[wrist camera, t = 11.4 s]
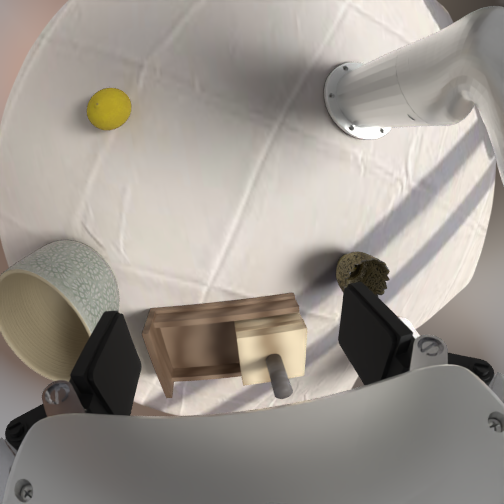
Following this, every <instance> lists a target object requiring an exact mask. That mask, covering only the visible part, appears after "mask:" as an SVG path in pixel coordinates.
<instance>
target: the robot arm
mask: <svg viewBox="0 0 504 504" xmlns="http://www.w3.org/2000/svg"><path fill="white" fill-rule="evenodd" d="M329 95H330V96H331V98H330V97H329ZM324 98H325V103H326V107H327V109H328V112H329V114H330V115H331V117H332V119H333V120H334V122H335V123H336V124H337V125H338V126H339V127H340V128H341V129H342V130H343V131H344V132H346V133H347V134H349V135H351V136H353V137H356V138H358V139H364V140H371V139H377V138H380V137H382V136H384V135H385V134H387V133H388V132H389V131H390V129H391V128H395V127H415V126H449V125H454V124H457V123H459V122H460V121H462V120H463V119H465V118H466V117H467V116H468V114H469V113H470V112H471V110H472V109H473V107H474V105H476V106H477V108H478V110H479V112H480V115H481V117H482V120H483V122H484V124H485V126H486V129H487V131H488V134H489V137H490V140H491V144H492V147H493V150H494V154H495V157H496V161H497V165H498V168H499V173H500V176H501V179H502V182H503V185H504V7H499V6H491V7H485V8H482V9H479V10H476V11H475V12H472V13H470V14H468V15H466V16H465V17H463V18H462V19H460V20H458V21H456V22H455V23H453V24H451V25H450V26H448V27H446V28H444V29H442V30H440V31H438V32H436V33H434V34H432V35H430V36H427V37H425V38H423V39H420V40H418V41H416V42H413V43H411V44H408V45H406V46H404V47H401V48H399V49H397V50H394V51H392V52H390V53H388V54H385V55H383V56H381V57H379V58H377V59H375V60H373V61H370V62H368V63H366V64H364V63H360V62H348V63H344V64H342V65H340V66H338V67H336V68H335V69H334V70H333V71H332V72H331V73H330V75H329V76H328V78H327V80H326V83H325V88H324ZM349 128H350V130H349ZM412 335H413V332H412V331H411V330H410V329H409V328H408V327H407V326H406V325H405V324H404V323H403V322H402V321H401V320H400V319H399V318H398V317H397V316H396V315H395V314H394V313H393V312H392V311H391V310H390V309H389V308H388V307H387V306H386V305H385V304H384V303H383V302H382V301H381V300H380V299H379V298H378V297H377V296H376V295H375V294H374V293H373V292H372V291H371V290H370V289H369V288H368V287H367V286H365V285H364V284H363V283H362V282H356V283H350V284H348V286H347V287H346V288H345V289H344V293H343V303H342V313H341V321H340V329H339V337H338V340H339V344H340V346H341V348H342V349H343V351H344V352H345V354H346V356H347V357H348V359H349V361H350V362H351V364H352V365H353V367H354V369H355V370H356V372H357V374H358V375H359V377H360V378H361V380H362V382H363V383H364V385H365V386H362V387H358V388H354V389H351V390H347V391H344V392H340V393H336V394H332V395H328V396H324V397H320V398H316V399H311V400H307V401H302V402H297V403H292V404H287V405H281V406H275V407H269V408H263V409H256V410H249V411H241V412H232V413H221V414H209V415H193V416H130V414H131V409H132V404H133V400H134V396H135V392H136V388H137V384H138V380H139V376H140V372H141V362H140V359H139V357H138V354H137V352H136V349H135V347H134V344H133V341H132V339H131V336H130V333H129V330H128V327H127V324H126V322H125V319H124V316H123V314H120V313H119V312H118V311H117V310H116V311H105V312H104V313H103V315H102V316H101V318H100V320H99V321H98V323H97V325H96V327H95V328H94V330H93V332H92V334H91V336H90V337H89V339H88V341H87V343H86V345H85V347H84V348H83V350H82V352H81V354H80V356H79V358H78V360H77V362H76V364H75V366H74V368H73V370H72V372H71V374H70V376H71V378H70V380H69V382H68V381H65V380H57V381H54V382H52V383H50V384H49V385H48V386H47V387H46V388H45V389H44V391H43V393H42V401H43V404H42V405H40V406H38V407H36V408H35V409H32V410H30V411H29V412H27V413H25V414H23V415H21V416H19V417H17V418H16V419H14V420H12V421H11V422H10V423H9V424H8V426H7V428H6V431H5V436H6V439H5V440H4V439H3V438H1V439H0V504H504V375H502V374H501V373H497V374H496V375H494V370H493V368H492V366H491V365H490V364H489V363H487V362H486V361H484V360H481V359H477V358H471V357H466V356H461V355H457V354H452V353H448V349H447V345H446V343H445V342H444V341H443V340H442V339H440V338H439V337H437V336H433V335H421V336H419V337H417V338H416V339H415V338H414V337H413V336H412Z"/></svg>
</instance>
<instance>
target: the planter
mask: <svg viewBox="0 0 504 504" xmlns="http://www.w3.org/2000/svg"><path fill="white" fill-rule="evenodd" d="M118 309H119V291H118V285H117V282H116V279H115V277H114V274H113V272H112V270H111V269H110V267H109V265H108V264H107V263H106V261H105V260H104V259H103V258H102V257H101V256H100V255H99V254H98V253H97V252H96V251H95V250H93V249H92V248H90V247H89V246H87V245H85V244H83V243H80V242H77V241H71V240H60V241H56V242H52V243H50V244H48V245H46V246H43V247H42V248H40V249H38V250H37V251H35V252H34V253H32V254H30V255H29V256H27V257H25V258H23V259H22V260H20V261H19V262H17V263H16V264H14V265H13V266H11V267H10V268H8V269H7V270H6V271H4V272H3V273H2V274H1V275H0V332H1V334H2V336H3V337H4V339H5V341H6V342H7V344H8V345H9V347H10V348H11V349H12V350H13V352H14V353H15V354H16V355H17V356H18V357H19V358H20V359H21V360H22V361H23V362H24V363H25V364H26V365H27V366H28V367H30V368H31V369H32V370H34V371H35V372H37V373H38V374H40V375H42V376H44V377H46V378H48V379H51V380H53V381H57V380H65V381H68V382H69V380H70V378H71V376H70V374H71V372H72V370H73V368H74V366H75V364H76V362H77V360H78V358H79V356H80V354H81V352H82V350H83V348H84V347H85V345H86V343H87V341H88V339H89V337H90V336H91V334H92V332H93V330H94V328H95V327H96V325H97V323H98V321H99V320H100V318H101V316H102V315H103V313H104V312H105V311H116V310H117V311H118Z"/></svg>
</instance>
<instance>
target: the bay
mask: <svg viewBox="0 0 504 504" xmlns="http://www.w3.org/2000/svg"><path fill="white" fill-rule="evenodd" d="M296 312H299V305H298V303H297V302H296V300H295V295H294V293H287V294H280V295H273V296H265V297H257V298H249V299H241V300H232V301H224V302H214V303H205V304H195V305H184V306H173V307H161V308H151V309H150V312H149V314H148V317H147V320H146V323H145V326H144V329H143V332H142V336H143V339H144V342H145V345H146V348H147V350H148V353H149V356H150V359H151V361H152V364H153V366H154V369H155V371H156V374H157V376H158V379H159V381H160V384H161V386H162V389H163V391H164V393H165V396H166V398H172V395H173V385H174V382H176V381H194V380H208V379H219V378H229V377H237V376H241V370H240V362H239V355H238V347H237V340H236V332H235V323H234V321H238V320H246V319H254V318H261V317H269V316H276V315H282V314H289V313H296Z"/></svg>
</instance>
